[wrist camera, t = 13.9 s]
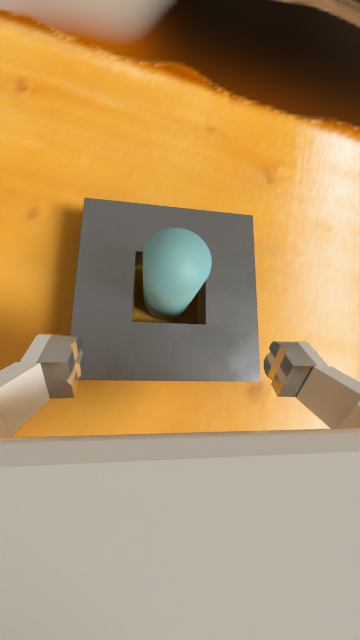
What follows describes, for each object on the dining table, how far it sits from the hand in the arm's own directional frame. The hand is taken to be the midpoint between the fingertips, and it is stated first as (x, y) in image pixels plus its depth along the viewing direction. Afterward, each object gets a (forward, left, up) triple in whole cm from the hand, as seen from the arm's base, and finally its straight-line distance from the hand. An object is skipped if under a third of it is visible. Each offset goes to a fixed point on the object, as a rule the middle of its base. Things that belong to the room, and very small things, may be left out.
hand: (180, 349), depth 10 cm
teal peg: (0, +5, -10) cm, 12 cm away
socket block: (0, +5, -10) cm, 12 cm away
